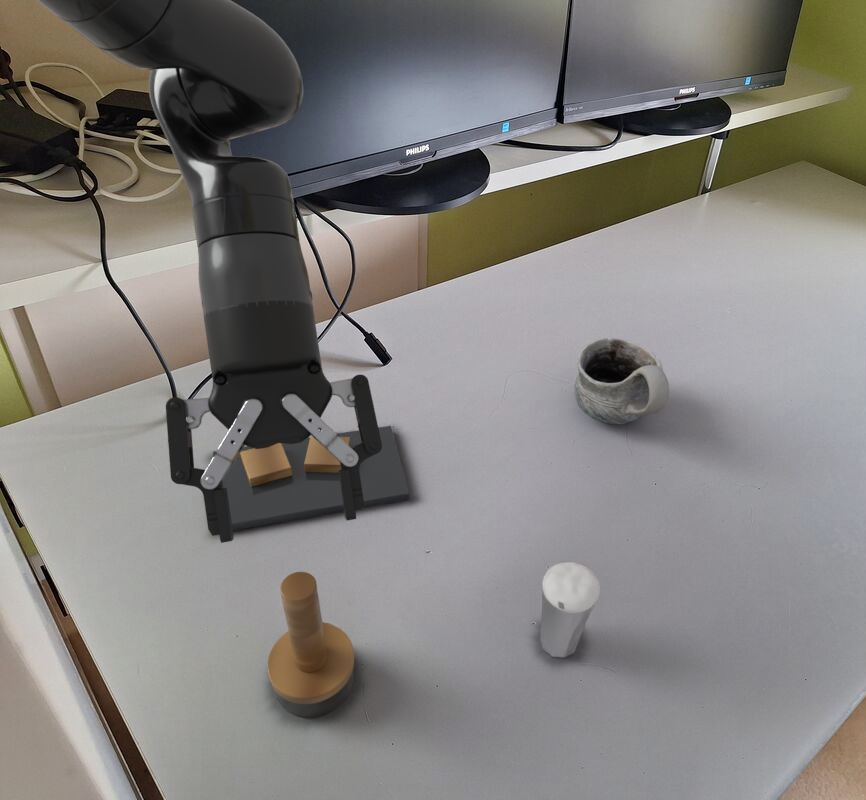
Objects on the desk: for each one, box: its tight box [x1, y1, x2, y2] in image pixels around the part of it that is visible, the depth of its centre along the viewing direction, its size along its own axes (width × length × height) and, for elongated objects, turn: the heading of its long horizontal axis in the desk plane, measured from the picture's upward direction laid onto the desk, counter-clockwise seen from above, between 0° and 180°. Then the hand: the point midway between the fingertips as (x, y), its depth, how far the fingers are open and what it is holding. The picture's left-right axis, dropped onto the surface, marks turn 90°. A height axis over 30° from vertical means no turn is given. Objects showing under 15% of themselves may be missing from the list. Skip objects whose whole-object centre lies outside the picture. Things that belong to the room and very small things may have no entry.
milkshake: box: [539, 561, 601, 659], centre depth 62 cm, size 4×5×10 cm
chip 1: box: [240, 443, 292, 487], centre depth 75 cm, size 4×4×1 cm
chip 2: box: [304, 435, 351, 473], centre depth 77 cm, size 4×4×1 cm
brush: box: [266, 571, 355, 718], centre depth 57 cm, size 6×6×13 cm
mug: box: [574, 336, 670, 425], centre depth 85 cm, size 10×12×10 cm
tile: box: [212, 425, 410, 531], centre depth 76 cm, size 18×10×1 cm, turn 109°
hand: (291, 529), depth 55 cm, fingers open, 8 cm apart
